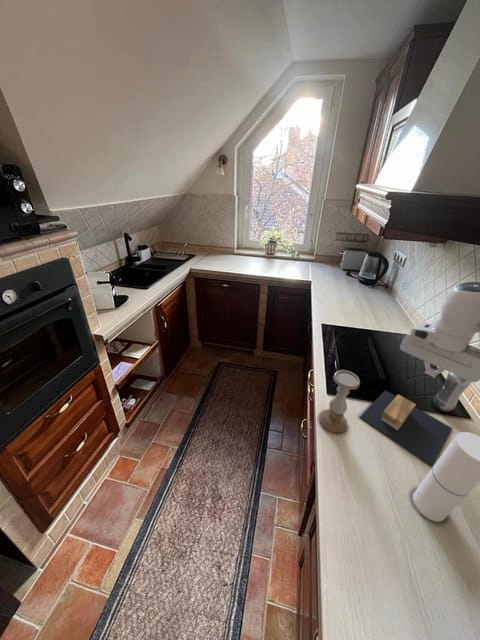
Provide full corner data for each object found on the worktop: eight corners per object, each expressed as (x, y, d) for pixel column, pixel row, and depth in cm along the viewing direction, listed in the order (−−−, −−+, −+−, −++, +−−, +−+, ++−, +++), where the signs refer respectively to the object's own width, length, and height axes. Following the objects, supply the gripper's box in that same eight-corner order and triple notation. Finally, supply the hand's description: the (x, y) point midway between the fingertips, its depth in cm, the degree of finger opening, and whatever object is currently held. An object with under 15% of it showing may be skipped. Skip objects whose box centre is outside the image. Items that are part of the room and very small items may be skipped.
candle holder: (346, 416, 89) (362, 372, 79) (346, 437, 82) (363, 392, 72) (321, 408, 92) (332, 365, 81) (318, 428, 85) (330, 383, 74)
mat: (450, 428, 86) (451, 427, 85) (431, 466, 74) (431, 465, 74) (384, 390, 100) (385, 389, 100) (359, 417, 89) (360, 416, 88)
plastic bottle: (456, 411, 92) (484, 369, 82) (443, 416, 90) (471, 374, 79) (438, 398, 97) (463, 357, 87) (426, 403, 95) (450, 362, 85)
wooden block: (416, 404, 88) (398, 394, 92) (402, 423, 81) (383, 411, 85) (411, 413, 90) (393, 402, 94) (397, 432, 84) (379, 420, 87)
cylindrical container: (406, 496, 67) (448, 437, 55) (425, 486, 70) (469, 427, 57) (432, 526, 62) (485, 469, 49) (452, 514, 64) (507, 457, 51)
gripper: (499, 350, 66) (474, 389, 73) (414, 320, 80) (399, 355, 87) (494, 360, 63) (468, 399, 70) (406, 327, 76) (391, 362, 83)
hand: (429, 374), depth 78 cm, fingers closed
